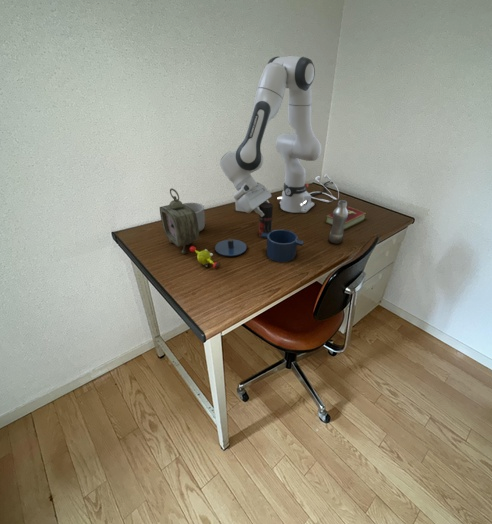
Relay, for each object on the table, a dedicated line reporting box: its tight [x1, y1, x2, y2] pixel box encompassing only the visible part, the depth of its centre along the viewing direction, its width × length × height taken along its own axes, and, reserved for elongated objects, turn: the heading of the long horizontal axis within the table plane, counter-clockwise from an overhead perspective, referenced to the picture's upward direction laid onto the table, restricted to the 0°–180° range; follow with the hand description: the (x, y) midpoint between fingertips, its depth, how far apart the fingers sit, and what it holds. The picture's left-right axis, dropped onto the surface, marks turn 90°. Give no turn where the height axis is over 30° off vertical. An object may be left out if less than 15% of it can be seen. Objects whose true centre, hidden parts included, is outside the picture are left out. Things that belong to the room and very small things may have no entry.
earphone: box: [308, 173, 340, 204], centre depth 172 cm, size 14×17×18 cm
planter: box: [182, 202, 206, 233], centre depth 124 cm, size 12×12×11 cm
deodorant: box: [258, 202, 274, 238], centre depth 123 cm, size 6×6×15 cm
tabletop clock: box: [159, 188, 200, 255], centre depth 107 cm, size 14×9×25 cm, turn 45°
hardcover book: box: [325, 206, 367, 231], centre depth 145 cm, size 12×21×4 cm, turn 136°
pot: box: [260, 229, 305, 263], centre depth 112 cm, size 12×18×8 cm
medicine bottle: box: [234, 199, 246, 213], centre depth 146 cm, size 7×7×12 cm
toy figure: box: [188, 245, 221, 270], centre depth 101 cm, size 18×6×7 cm, turn 48°
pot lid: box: [214, 238, 248, 257], centre depth 113 cm, size 13×13×5 cm
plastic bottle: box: [328, 199, 348, 245], centre depth 121 cm, size 6×7×20 cm
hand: (267, 212), depth 121 cm, fingers closed on deodorant, 6 cm apart
